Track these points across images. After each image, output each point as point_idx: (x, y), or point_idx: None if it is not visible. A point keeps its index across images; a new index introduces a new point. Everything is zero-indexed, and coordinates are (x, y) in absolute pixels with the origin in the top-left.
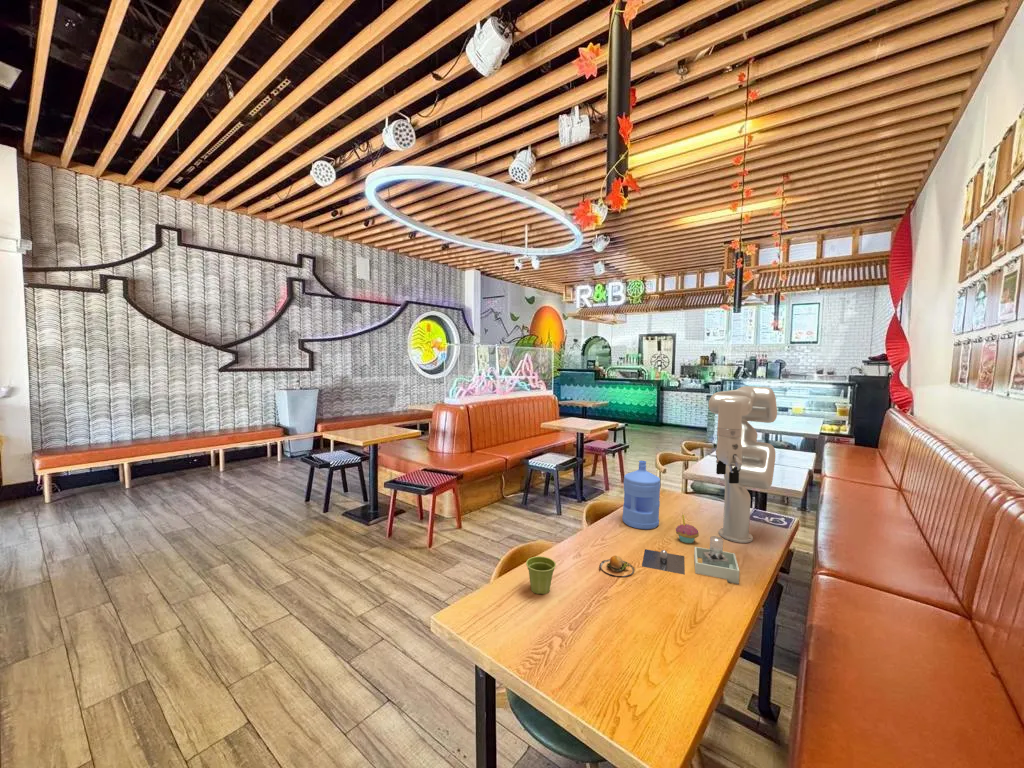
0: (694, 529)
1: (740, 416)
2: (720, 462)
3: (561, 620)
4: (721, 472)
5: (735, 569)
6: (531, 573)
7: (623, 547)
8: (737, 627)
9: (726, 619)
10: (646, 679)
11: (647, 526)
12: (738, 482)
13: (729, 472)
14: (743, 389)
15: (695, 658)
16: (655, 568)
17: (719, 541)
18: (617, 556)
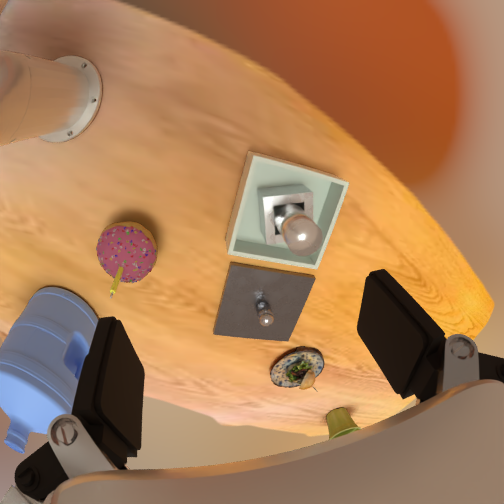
0: (133, 242)
1: None
2: (120, 459)
3: (386, 387)
4: (130, 358)
5: (343, 189)
6: (349, 432)
7: (203, 359)
8: (434, 230)
9: (421, 238)
10: (457, 324)
11: (94, 318)
12: (384, 271)
13: (407, 395)
14: None
15: (455, 288)
16: (294, 322)
17: (322, 236)
18: (306, 385)
